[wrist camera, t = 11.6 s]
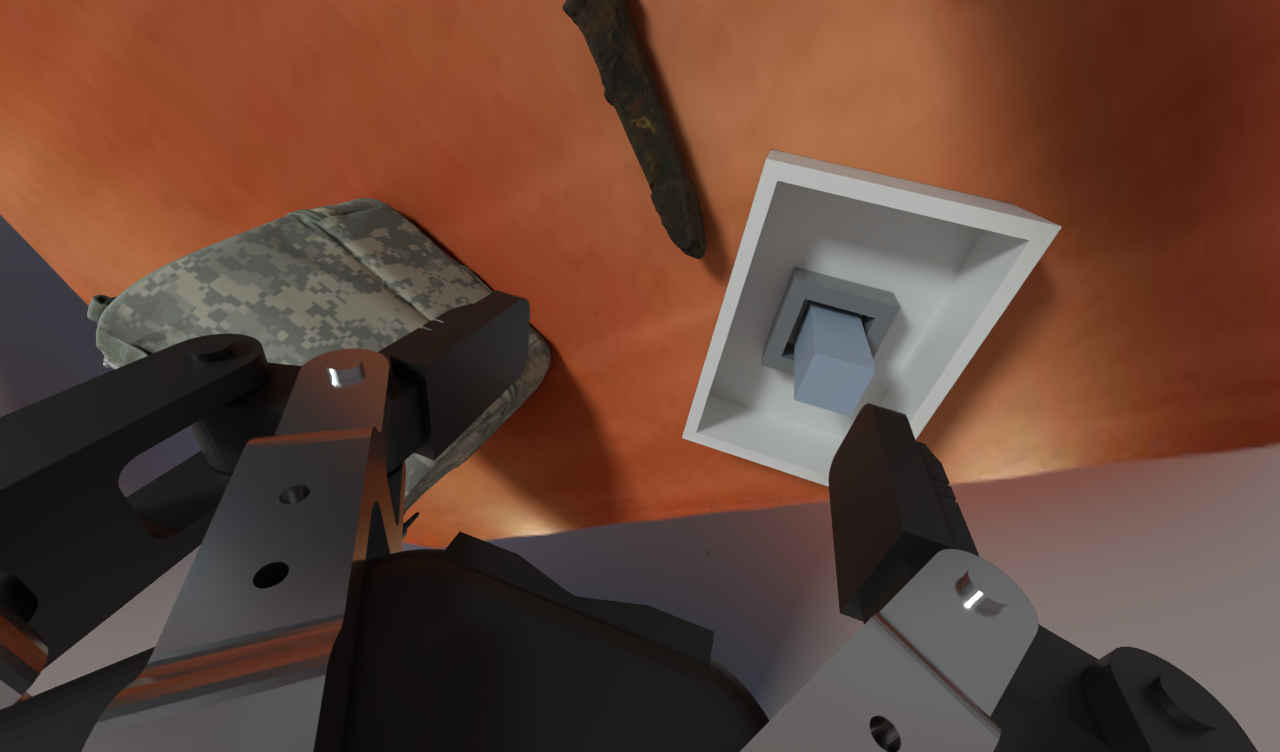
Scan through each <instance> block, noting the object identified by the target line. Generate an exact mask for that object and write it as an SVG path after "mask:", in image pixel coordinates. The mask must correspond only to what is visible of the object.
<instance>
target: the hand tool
mask: <svg viewBox="0 0 1280 752" xmlns="http://www.w3.org/2000/svg"><path fill="white" fill-rule="evenodd" d="M563 10H564V11H565V13H566V14H567V15H568V16H569V17H570V18H571V19H572V20H573V22H574V23H575V24H576V25H578V27H579V29H580V30H581V32H582V33H583V35H584V37H585V39H586V42H587V45H588V46H589V49H590V51H591V54H592V56H593V58H594V60H595V62H596V65H597V67H598V69H599V72H600V76H601V80H602V83H603V86H604V87H605V92H604V96H605V98H606V100H607V102H609V103H610V104H611V105H612V106H614V108H615V109H616V111H617V113H618V115H619V118H620V120H621V122H622V125H623V127H624V129H625V132H626V134H627V137H628V139H629V141H630V143H631V145H632V147H633V149H634V152H635V154H636V157H637V159H638V161H639V163H640V165H641V167H642V170H643V172H644V174H645V176H646V179H647V181H648V183H649V186H650V189H651V191H652V194H651V199H652V202H653V204H654V206H655V209H656V211H657V212H658V214H659V215H660V218H661V221H662V225H663V226H664V227H665V229H666V230H667V233H668V235H669V236H670V238H671V240H672V241H673V242H674V244H676V246H677V247H679V248H680V249H681V250H682V251H683V252H684V253H685V254H687V255H689V256H691V257H694V258H697V259H701V258H703V256H704V254H705V251H706V241H705V233H704V230H705V229H704V225H703V216H702V213H701V210H700V206H699V200H698V196H697V191H696V187H695V185H694V183H693V181H692V180H691V179H690V177H689V175H688V173H687V170H686V167H685V164H684V161H683V158H682V156H681V153H680V150H679V146H678V144H677V141H676V138H675V135H674V133H673V130H672V127H671V124H670V120H669V117H668V115H667V112H666V110H665V108H664V106H663V104H662V101H661V98H660V95H659V92H658V90H657V88H656V83H655V79H654V77H653V74H652V71H651V67H650V64H649V61H648V58H647V56H646V53H645V52H644V50H643V48H642V45H641V42H640V39H639V37H638V36H637V34H636V31H635V28H634V25H633V23H632V20H631V18H630V15H629V12H628V9H627V6H626V3H625V0H566V2H565V3H564V5H563Z"/></svg>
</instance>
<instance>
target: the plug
mask: <svg viewBox="0 0 1280 752" xmlns="http://www.w3.org/2000/svg"><path fill="white" fill-rule="evenodd" d="M875 371H876V367H875V364H874V361H873V358H872V354H871V351H870V348H869V345H868V341H867V338H866V335H865V332H864V328H863V325H862V322H861V319H860V315H859V313H855V312H851V311H848V310H844V309H840V308H837V307H833V306H830V305H826V304H822V303H819V302H815V301H811V300H808V303H807V305H806V308H805V310H804V313H803V315H802V318H801V320H800V323H799V325H798V328H797V330H796V333H795V335H794V400H795V401H799V402H802V403H806V404H809V405H812V406H816V407H819V408H822V409H826V410H829V411H833V412H836V413H839V414H843V415H846V416H849V417H851V416H852V414H853V412H854V410H855V408H856V406H857V405H858V403H859V401H860V399H861V397H862V395H863V393H864V392H865V390H866V388H867V386H868V384H869V382H870V380H871V379H872V377H873V375H874V373H875Z"/></svg>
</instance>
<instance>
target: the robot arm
mask: <svg viewBox="0 0 1280 752" xmlns="http://www.w3.org/2000/svg"><path fill="white" fill-rule="evenodd" d="M529 319H530V306H529V302H528V301H527V300H526V299H524V298H521V297H517V296H514V295H511V294H507V293H504V292H501V291H494V292H492V293H491V294H489V295H487V296H486V297H484V298H483V299H481V300H479V301H478V302H476V303H474V304H472V303H471V304H468V305H464V306H460V307H456V308H452V309H450V310H448V311H446V312H445V313H443V314H441V315H440V316H438V317H436V318H435V320H431V321H429V322H428V323H426V324H424V325H423V326H422V328H418V329H416V330H414V331H412V332H411V333H409V334H407V335H406V336H404V337H402V338H401V339H399V340H397V341H395V342H394V343H392V344H390V345H389V346H387V347H385V348H384V349H382V350H380V351H378V352H374V351H371V350H366V349H342V350H335V351H331V352H327V353H324V354H321V355H319V356H316V357H314V358H313V359H311V360H309V361H308V362H307V363H305V364H304V365H303V366H296V365H287V364H277V363H268V362H267V359H266V356H265V353H264V350H263V347H262V344H261V343H260V342H259V340H257V339H255V338H253V337H250V336H247V335H241V334H212V335H206V336H200V337H196V338H192V339H188V340H185V341H182V342H180V343H177V344H175V345H172V346H170V347H168V348H165V349H163V350H160V351H158V352H156V353H153V354H151V355H148V356H146V357H144V358H141V359H139V360H136V361H134V362H132V363H129V364H127V365H124V366H122V367H120V368H117V369H115V370H112V371H110V372H108V373H105V374H103V375H100V376H98V377H96V378H93V379H91V380H88V381H86V382H84V383H82V384H79V385H77V386H74V387H72V388H69V389H67V390H65V391H62V392H60V393H57V394H55V395H53V396H50V397H48V398H46V399H43V400H41V401H38V402H36V403H33V404H31V405H29V406H26V407H24V408H21V409H19V410H17V411H14V412H12V413H10V414H7V415H5V416H2V417H0V752H1258V751H1257V750H1256V748H1255V747H1254V745H1253V744H1252V742H1251V741H1250V739H1249V738H1248V736H1247V735H1246V733H1245V732H1244V730H1243V729H1242V728H1241V727H1240V725H1239V724H1238V722H1237V721H1236V720H1235V719H1234V718H1233V716H1232V715H1231V714H1230V713H1229V712H1228V711H1227V709H1226V708H1225V707H1224V706H1222V704H1221V703H1220V702H1219V701H1218V700H1217V699H1216V698H1215V697H1214V696H1212V695H1211V694H1210V693H1209V692H1208V691H1207V690H1206V689H1205V688H1204V687H1202V686H1201V685H1200V684H1199V683H1197V682H1196V681H1195V680H1194V679H1193V678H1191V677H1190V676H1188V675H1187V674H1186V673H1184V672H1183V671H1181V670H1180V669H1178V668H1177V667H1175V666H1174V665H1172V664H1170V663H1169V662H1167V661H1165V660H1163V659H1162V658H1160V657H1158V656H1156V655H1153V654H1151V653H1149V652H1147V651H1144V650H1141V649H1138V648H1132V647H1120V648H1116V649H1115V650H1113V651H1112V652H1110V653H1108V654H1107V655H1105V656H1104V657H1102V658H1101V659H1099V660H1098V659H1096V658H1095V657H1093V656H1092V655H1090V654H1088V653H1086V652H1085V651H1083V650H1081V649H1080V648H1078V647H1076V646H1075V645H1073V644H1071V643H1069V642H1068V641H1066V640H1064V639H1063V638H1061V637H1059V636H1057V635H1056V634H1054V633H1052V632H1050V631H1049V630H1047V629H1046V628H1044V627H1042V626H1041V625H1039V624H1038V618H1037V614H1036V612H1035V610H1034V607H1033V606H1032V604H1031V602H1030V601H1029V599H1028V598H1027V596H1026V595H1025V594H1024V592H1023V591H1022V590H1021V589H1020V588H1019V587H1018V585H1017V584H1016V583H1015V582H1014V581H1012V579H1010V578H1009V577H1008V576H1007V575H1006V574H1005V573H1003V572H1002V571H1001V570H1000V569H998V568H997V567H996V566H994V565H993V564H991V563H989V562H987V561H986V560H984V559H983V558H981V557H979V554H978V552H977V549H976V547H975V544H974V542H973V540H972V537H971V535H970V532H969V530H968V527H967V525H966V522H965V520H964V518H963V515H962V513H961V510H960V508H959V505H958V503H956V502H955V500H956V498H955V496H954V493H953V491H952V488H951V487H950V486H948V485H949V481H948V478H947V476H946V473H945V471H944V468H943V466H942V464H941V462H940V461H939V460H938V459H937V458H936V457H935V456H934V454H933V453H932V452H931V451H930V450H929V449H928V448H927V446H926V445H925V444H923V443H920V442H916V440H915V437H914V435H913V432H912V429H911V426H910V423H909V421H908V418H907V416H906V415H905V414H903V413H900V412H897V411H893V410H890V409H887V408H884V407H880V406H877V405H874V404H870V403H867V404H866V405H864V406H863V407H862V409H861V410H860V412H859V413H858V415H857V417H856V419H855V420H854V422H853V424H852V426H851V427H850V429H849V431H848V433H847V434H846V436H845V438H844V440H843V441H842V443H841V445H840V447H839V448H838V450H837V452H836V454H835V456H834V458H833V461H832V463H831V467H830V471H829V479H828V481H829V494H830V505H831V516H832V528H833V539H834V551H835V562H836V573H837V585H838V596H839V608H840V613H841V614H844V615H847V616H850V617H852V618H855V619H858V620H860V621H863V622H864V626H863V627H862V628H861V629H860V630H859V631H858V632H857V633H856V634H855V635H854V636H853V637H852V638H851V639H850V640H849V641H848V642H847V643H846V644H845V645H844V646H843V647H842V648H841V649H840V650H839V651H838V652H837V653H836V654H835V655H834V656H833V657H832V658H831V659H830V660H829V661H828V662H827V663H826V664H825V665H824V666H823V668H821V669H820V671H818V673H816V675H815V676H814V677H813V678H812V679H811V680H810V681H809V682H808V683H807V684H806V685H805V686H804V687H803V688H802V689H801V690H800V691H799V692H798V693H797V694H796V695H795V696H794V697H793V698H792V699H791V700H790V701H789V702H788V703H787V704H786V705H785V706H784V707H783V708H782V709H781V710H780V711H779V712H778V713H777V714H776V715H775V716H774V717H773V719H771V721H769V719H768V718H767V716H766V714H765V713H764V711H763V710H762V708H761V707H760V705H759V704H758V703H757V701H756V700H755V699H754V697H753V696H752V695H751V693H750V692H749V691H748V690H747V689H746V687H745V686H744V685H743V684H742V683H741V682H740V681H739V680H738V679H737V677H736V676H734V674H732V673H731V672H730V671H729V670H728V669H727V668H726V667H725V666H724V665H723V664H721V663H720V662H719V661H717V660H716V659H715V658H713V657H712V656H711V650H712V644H713V637H714V632H713V631H711V630H708V629H706V628H703V627H701V626H698V625H695V624H693V623H691V622H688V621H686V620H683V619H680V618H678V617H675V616H673V615H670V614H668V613H665V612H663V611H660V610H658V609H655V608H653V607H650V606H647V605H639V604H632V603H624V602H616V601H608V600H600V599H592V598H583V597H578V596H575V595H573V594H571V593H569V592H567V591H566V590H565V589H563V588H562V587H561V586H559V585H558V584H557V583H555V582H554V581H553V580H551V579H550V578H549V577H547V576H546V575H545V574H543V573H542V572H541V571H539V570H538V569H537V568H535V567H534V566H532V565H531V564H530V563H529V562H527V561H526V560H525V559H523V558H522V557H521V556H519V555H518V554H516V553H513V552H510V551H508V550H505V549H503V548H500V547H498V546H495V545H493V544H490V543H488V542H485V541H483V540H480V539H477V538H475V537H472V536H470V535H467V534H465V533H462V532H459V533H458V534H457V536H456V537H455V538H454V539H453V541H452V542H451V543H450V544H449V546H448V547H447V548H446V550H441V549H419V550H410V551H402V535H403V517H404V500H405V482H406V465H405V460H406V459H407V458H408V457H409V456H410V455H412V454H413V453H416V454H418V455H421V456H424V457H426V458H429V459H432V460H436V459H437V458H438V457H439V456H440V455H441V454H442V453H443V452H444V451H445V450H446V449H447V448H448V447H449V446H450V445H451V444H452V443H453V442H454V441H455V440H456V439H457V438H458V437H459V436H460V435H461V434H462V433H463V432H464V431H465V430H466V429H467V428H468V427H469V426H470V425H471V424H472V423H473V422H474V421H475V420H476V419H477V418H478V417H480V416H481V415H482V414H483V413H484V412H485V411H486V410H487V409H488V408H489V407H490V406H491V405H492V404H493V403H494V402H495V401H496V400H497V399H498V398H499V397H500V396H501V395H502V394H503V393H504V392H505V391H506V390H507V389H508V388H509V387H510V386H511V385H512V384H513V383H514V382H515V381H516V380H517V379H518V378H519V377H520V376H521V374H522V372H523V370H524V368H525V366H526V363H527V358H528V343H529ZM188 426H190V428H191V430H192V431H193V434H194V436H195V438H196V440H197V442H198V444H199V445H200V448H201V451H200V452H198V453H197V454H195V455H194V456H192V457H190V458H188V459H187V460H185V461H184V462H182V463H181V464H179V465H177V466H176V467H174V468H173V469H171V470H169V471H168V472H166V473H165V474H163V475H162V476H160V477H158V478H157V479H155V480H153V481H152V482H150V483H149V484H147V485H146V486H144V487H142V488H141V489H139V490H137V491H136V492H134V493H133V494H131V495H129V496H128V497H126V498H125V496H124V495H123V493H122V492H121V490H120V488H119V485H118V479H119V475H120V473H121V471H122V469H123V468H124V467H125V465H126V464H127V463H128V462H129V461H131V460H132V459H133V458H134V457H136V456H137V455H139V454H141V453H143V452H144V451H146V450H148V449H149V448H151V447H153V446H155V445H156V444H158V443H160V442H162V441H163V440H165V439H167V438H169V437H171V436H172V435H174V434H176V433H177V432H179V431H181V430H183V429H185V428H186V427H188ZM199 545H201V546H200V548H199V550H198V553H197V555H196V557H195V559H194V561H193V564H192V566H191V569H190V570H189V573H188V575H187V577H186V580H185V582H184V584H183V586H182V588H181V591H180V593H179V595H178V597H177V600H176V602H175V604H174V606H173V609H172V611H171V613H170V615H169V618H168V620H167V623H166V624H165V626H164V629H163V631H162V633H161V635H160V638H159V640H158V642H157V645H156V647H153V648H151V649H148V650H146V651H143V652H141V653H139V654H136V655H134V656H131V657H129V658H126V659H124V660H121V661H119V662H117V663H114V664H111V665H109V666H107V667H104V668H102V669H99V670H97V671H94V672H92V673H89V674H87V675H84V676H82V677H80V678H77V679H75V680H72V681H70V682H67V683H65V684H62V685H60V686H57V687H55V688H52V689H50V690H48V691H45V692H43V693H40V694H38V695H36V696H33V697H32V696H31V695H29V694H28V693H27V692H26V691H27V690H28V689H29V688H30V687H31V685H32V684H33V683H34V682H35V680H36V679H37V677H38V676H39V675H40V673H41V671H42V670H43V669H44V668H45V667H47V666H48V665H49V664H50V663H52V662H53V661H54V660H56V659H57V658H58V657H59V656H61V655H62V654H63V653H64V652H65V651H67V650H68V649H69V648H71V647H72V646H73V645H75V644H76V643H77V642H78V641H80V640H81V639H82V638H83V637H85V636H86V635H87V634H88V633H90V632H91V631H92V630H94V629H95V628H96V627H97V626H98V625H100V624H101V623H102V622H104V621H105V620H106V619H107V618H109V617H110V616H111V615H112V614H113V613H115V612H116V611H117V610H119V609H120V608H121V607H123V606H124V605H125V604H126V603H127V602H129V601H130V600H131V599H133V598H134V597H135V596H136V595H138V594H139V593H140V592H141V591H143V590H144V589H145V588H146V587H148V586H149V585H150V584H152V583H153V582H154V581H155V580H156V579H158V578H159V577H160V576H161V575H163V574H164V573H165V572H167V571H168V570H169V569H170V568H172V567H173V566H174V565H176V564H177V563H178V562H179V561H181V560H182V559H183V558H184V557H186V556H187V555H188V554H189V553H191V552H192V551H193V550H194V549H196V548H197V547H198V546H199Z"/></svg>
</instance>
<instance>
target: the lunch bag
mask: <svg viewBox="0 0 1280 752" xmlns="http://www.w3.org/2000/svg"><path fill="white" fill-rule="evenodd" d="M492 292H493V291H492V290H490V289H489V288H488V287H487V286H486V285H485V284H484V283H483V282H482V281H481V280H480V279H479V278H478V277H477V276H476V275H475V274H474V273H472V272H471V271H470V270H469V269H468V268H466V267H465V266H462V265H461V264H459V263H458V262H457V261H456V260H454V259H453V258H452V257H451V256H449V255H448V254H447V253H445V252H444V251H443V250H442V249H440V248H439V247H438V246H437V245H436V244H434V243H433V242H432V241H431V240H430V239H429V238H428V237H427V236H426V235H425V234H423V233H422V232H421V231H420V230H419V229H418V228H417V227H416V226H415V225H413V224H412V223H411V222H410V221H409V220H407V219H406V218H405V217H404V216H402V215H401V214H399V213H398V212H397V211H396V210H394V209H393V208H392V207H391V206H390V205H388V204H384V203H383V202H381V201H379V200H376V199H370V198H363V199H356V200H352V201H348V202H344V203H340V204H336V205H329V206H324V207H317V208H314V209H311V210H309V209H303V210H297V211H296V212H291V213H288V214H287V215H286V216H285V217H282V218H279V219H276V220H274V221H271V222H269V223H267V224H264V225H261V226H259V227H256V228H254V229H251V230H249V231H246V232H243V233H241V234H238V235H236V236H233V237H230V238H228V239H225V240H223V241H220V242H218V243H215V244H213V245H210V246H208V247H205V248H203V249H200V250H198V251H195V252H193V253H190V254H188V255H186V256H184V257H182V258H180V259H177V260H175V261H173V262H171V263H169V264H167V265H165V266H162V267H161V268H159V269H157V270H155V271H154V272H152V273H150V274H148V275H147V276H145V277H144V278H142V279H140V280H139V281H137V282H136V283H135V284H133V285H132V286H130V287H129V288H128V289H126V290H125V291H124V292H122V293H121V294H120V295H119V296H116V297H113V298H110V297H107V296H105V295H96V296H94V297H92V301H91V303H90V305H89V308H88V313H87V316H88V318H89V319H91V320H93V321H96V322H98V327H97V332H96V346H97V347H98V348H99V349H100V350H101V351H102V352H103V354H104V355H105V358H104V361H105V362H104V363H103V365H104V366H106V367H107V368H111V367H112V368H114V369H117V368H120V367H122V366H124V365H127V364H129V363H132V362H134V361H136V360H139V359H141V358H144V357H146V356H148V355H151V354H153V353H156V352H158V351H160V350H163V349H165V348H168V347H170V346H172V345H175V344H177V343H180V342H182V341H185V340H188V339H192V338H196V337H200V336H206V335H212V334H241V335H247V336H250V337H253V338H255V339H257V340H259V342H260V343H261V344H262V347H263V350H264V353H265V356H266V359H267V362H268V363H277V364H287V365H296V366H303V365H304V364H305V363H307V362H308V361H309V360H311V359H313V358H314V357H316V356H319V355H321V354H324V353H327V352H331V351H335V350H342V349H366V350H371V351H374V352H378V351H380V350H382V349H384V348H385V347H387V346H389V345H390V344H392V343H394V342H395V341H397V340H399V339H401V338H402V337H404V336H406V335H407V334H409V333H411V332H412V331H414V330H416V329H418V328H422V326H423V325H424V324H426V323H428V322H429V321H431V320H435V318H436V317H438V316H440V315H441V314H443V313H445V312H446V311H448V310H450V309H452V308H456V307H460V306H464V305H468V304H471V303H472V304H474V303H476V302H478V301H479V300H481V299H483V298H484V297H486V296H487V295H489V294H491V293H492ZM550 360H551V355H550V350H549V348H548V346H547V344H546V342H545V341H544V340H543V338H542V337H541V336H540V335H539V334H538V333H537V332H536V331H535V330H534V329H533V328H532V327H531V326H529V343H528V358H527V363H526V366H525V368H524V370H523V372H522V374H521V376H520V377H519V378H518V379H517V380H516V381H515V382H514V383H513V384H512V385H511V386H510V387H509V388H508V389H507V390H506V391H505V392H504V393H503V394H502V395H501V396H500V397H499V398H498V399H497V400H496V401H495V402H494V403H493V404H492V405H491V406H490V407H489V408H488V409H487V410H486V411H485V412H484V413H483V414H482V415H481V416H480V417H478V418H477V419H476V420H475V421H474V422H473V423H472V424H471V425H470V426H469V427H468V428H467V429H466V430H465V431H464V432H463V433H462V434H461V435H460V436H459V437H458V438H457V439H456V440H455V441H454V442H453V443H452V444H451V445H450V446H449V447H448V448H447V449H446V450H445V451H444V452H443V453H442V454H441V455H440V456H439V457H438V458H437V459H436V460H432V459H429V458H426V457H424V456H421V455H418V454H416V453H413V454H412V455H410V456H409V457H408V458H407V459H406V460H405V465H406V482H405V500H404V514H405V512H406V511H407V510H408V509H409V508H410V507H411V506H412V505H413V504H414V503H415V502H416V501H417V500H418V499H419V498H420V497H421V496H422V495H423V494H424V493H425V492H426V491H427V490H428V489H429V488H430V487H432V486H433V485H434V484H435V483H436V482H437V481H438V480H440V479H441V478H442V477H443V476H444V475H445V474H447V473H448V472H450V471H451V470H452V469H454V468H456V467H458V466H460V465H461V464H462V463H463V462H465V461H466V460H467V459H468V458H469V457H470V456H471V455H472V454H473V453H474V452H475V451H476V450H477V449H478V448H479V447H481V446H482V445H483V444H484V442H485V441H486V440H487V439H488V438H489V437H490V436H491V435H492V434H493V433H494V432H495V431H496V430H497V429H498V428H499V427H500V426H501V425H502V424H503V423H504V422H505V421H506V420H507V419H508V418H509V417H510V416H511V415H512V414H513V413H514V412H515V411H516V410H517V409H518V408H519V407H520V406H521V405H522V404H523V403H524V402H525V401H526V400H527V399H528V398H529V397H530V396H531V395H532V394H533V393H534V391H535V390H536V389H537V387H538V386H539V385H540V383H541V382H542V380H543V378H544V377H545V375H546V373H547V371H548V369H549V365H550ZM418 515H419V512H417V513H415V514H414V515H413V516H412V517H411V518H410V519H408V520H407V521H406V522H405V523H403V535H402V540H403V539H404V537H405V536H406V533H407V528H408V527H409V526H410V525H411V524H412V522H413V521H414V520H415V519H416V518H417V517H418Z"/></svg>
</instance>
